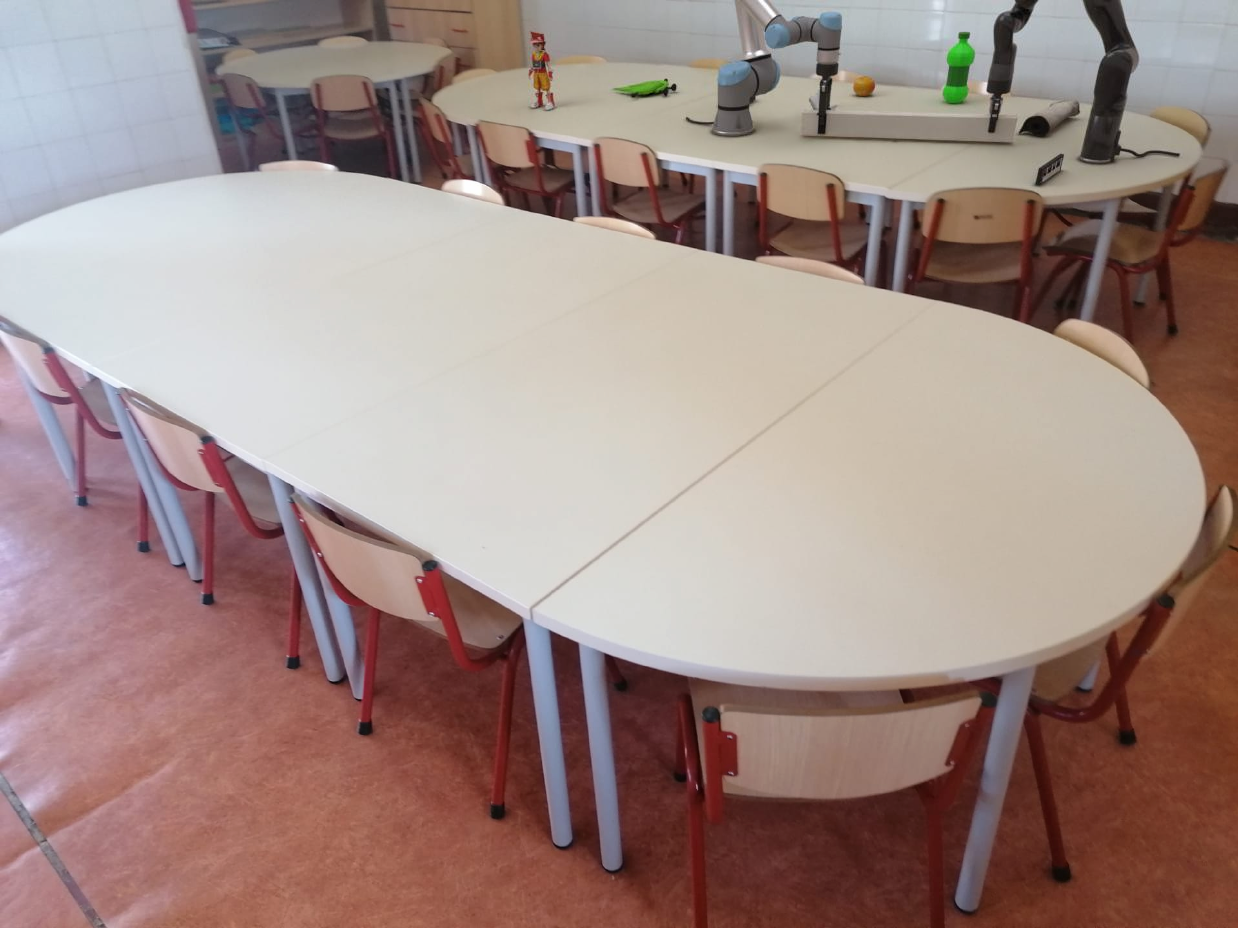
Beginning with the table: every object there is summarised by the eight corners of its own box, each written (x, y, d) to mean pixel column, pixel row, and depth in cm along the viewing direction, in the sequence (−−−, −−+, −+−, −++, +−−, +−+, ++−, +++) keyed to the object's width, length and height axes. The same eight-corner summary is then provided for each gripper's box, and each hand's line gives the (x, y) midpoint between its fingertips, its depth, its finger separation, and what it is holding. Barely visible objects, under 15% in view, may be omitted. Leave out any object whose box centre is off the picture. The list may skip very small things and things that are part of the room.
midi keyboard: (1039, 185, 269) (1043, 168, 266) (1035, 184, 270) (1038, 168, 267) (1060, 170, 279) (1064, 154, 277) (1056, 169, 280) (1060, 153, 277)
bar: (800, 135, 324) (802, 112, 320) (802, 131, 328) (804, 109, 323) (1012, 142, 303) (1017, 118, 299) (1012, 138, 307) (1016, 115, 302)
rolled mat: (1047, 105, 331) (1071, 88, 323) (1061, 126, 332) (1085, 109, 324) (1014, 127, 314) (1039, 109, 306) (1028, 149, 314) (1054, 132, 306)
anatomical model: (804, 89, 349) (829, 82, 348) (807, 116, 355) (832, 109, 354) (814, 99, 336) (840, 91, 335) (817, 126, 342) (843, 119, 341)
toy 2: (686, 85, 398) (631, 84, 414) (685, 72, 395) (629, 72, 411) (651, 104, 381) (596, 103, 397) (650, 92, 378) (594, 91, 394)
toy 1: (525, 109, 381) (517, 32, 364) (534, 104, 388) (527, 28, 371) (550, 110, 377) (543, 32, 360) (559, 105, 384) (553, 28, 367)
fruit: (848, 88, 368) (860, 70, 365) (850, 91, 375) (862, 74, 372) (865, 99, 366) (877, 81, 363) (867, 102, 374) (879, 85, 371)
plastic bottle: (973, 101, 354) (984, 32, 339) (955, 106, 349) (966, 36, 335) (952, 97, 361) (962, 29, 346) (934, 102, 356) (944, 33, 342)
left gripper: (835, 68, 302) (829, 139, 315) (841, 57, 316) (836, 125, 329) (812, 67, 304) (808, 138, 318) (820, 57, 318) (815, 125, 331)
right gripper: (1013, 82, 289) (1003, 136, 299) (1012, 72, 300) (1002, 125, 310) (988, 82, 291) (979, 136, 301) (988, 72, 302) (979, 124, 312)
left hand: (822, 131), depth 323 cm, fingers closed on bar, 5 cm apart
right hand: (991, 130), depth 305 cm, fingers closed on bar, 4 cm apart
